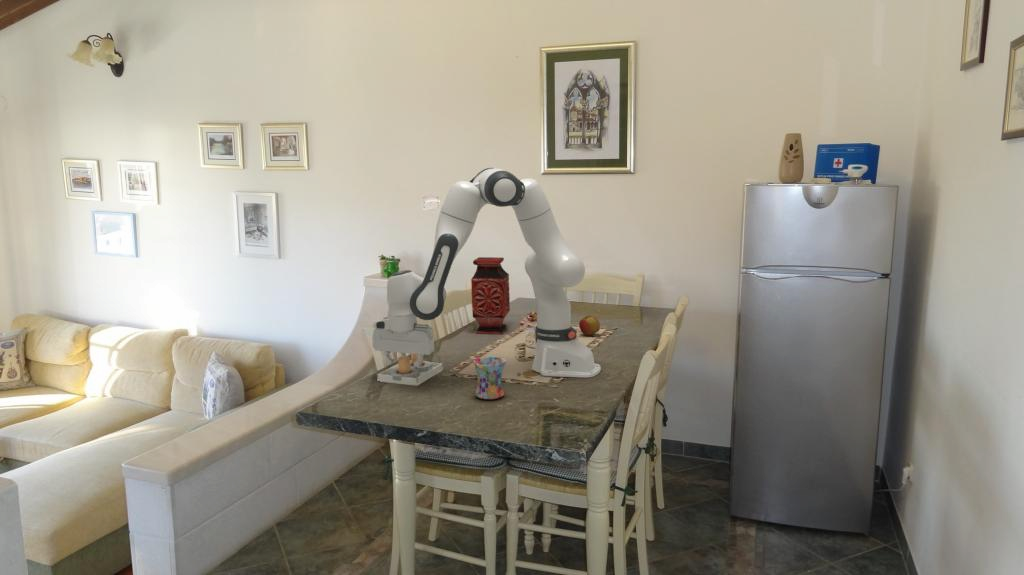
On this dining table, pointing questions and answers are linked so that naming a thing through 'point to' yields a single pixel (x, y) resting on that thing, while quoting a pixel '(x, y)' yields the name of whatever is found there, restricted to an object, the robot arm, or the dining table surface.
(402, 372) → the orange pillar candle
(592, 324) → the apple
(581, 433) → the dining table surface
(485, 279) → the vase
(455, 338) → the dining table surface
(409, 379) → the white candle tray
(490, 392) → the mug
